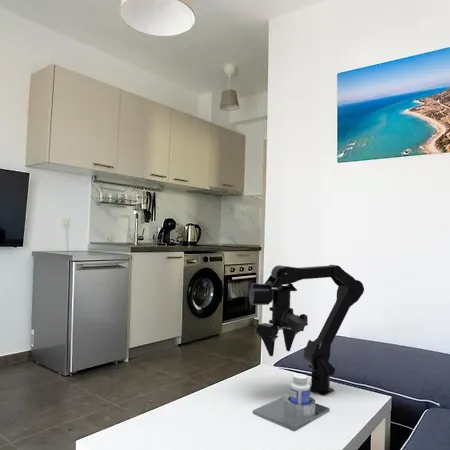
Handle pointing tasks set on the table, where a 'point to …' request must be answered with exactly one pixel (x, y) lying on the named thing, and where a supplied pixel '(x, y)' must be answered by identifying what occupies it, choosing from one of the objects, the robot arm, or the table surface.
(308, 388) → the pill bottle
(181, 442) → the table surface
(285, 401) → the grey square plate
